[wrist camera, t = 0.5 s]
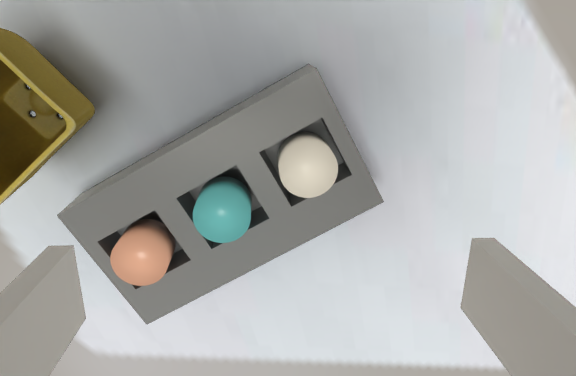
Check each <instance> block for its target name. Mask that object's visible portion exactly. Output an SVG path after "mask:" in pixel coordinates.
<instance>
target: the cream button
mask: <svg viewBox="0 0 576 376" xmlns="http://www.w3.org/2000/svg"><path fill="white" fill-rule="evenodd" d="M277 161H278V169H279V175H280V179H281V182H282V184H283V185H284V187H285V188H286V189H287V190H288V191H289V192H290V193H292V194H294V195H296V196H298V197H303V198H313V197H317V196H320V195H322V194H323V193H325V192H326V191H328V190H329V189H330V188H331V187H332V185H333V184H334V182H335V180H336V178H337V174H338V163H337V159H336V157H335V155H334V154H333V152H332V150H331V149H330V147H329V146H328V144H327V143H326V141H325V140H324V139H323V138H322V137H320V136H319V135H317V134H314V133H311V132H300V133H296V134H293V135H291V136H290V137H288V138H287V139H286V140H285V141H284V142H283V143H282V145H281V147H280V149H279V151H278V157H277Z"/></svg>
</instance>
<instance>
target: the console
mask: <svg viewBox="0 0 576 376" xmlns="http://www.w3.org/2000/svg"><path fill="white" fill-rule="evenodd" d="M300 132H311V133H314V134H317V135H319V136H320V137H322V138H323V139H324V140H325V141H326V143H327V144H328V146H329V147H330V149H331V150H332V152H333V154H334V155H335V157H336V159H337V163H338V174H337V178H336V180H335V182H334V184H333V185H332V187H331V188H330V189H329V190H328V191H326V192H325V193H323V194H322V195H320V196H317V197H313V198H303V197H298V196H296V195H294V194H292V193H290V192H289V191H288V190H287V189H286V188H285V187H284V185H283V184H282V182H281V179H280V175H279V169H278V161H277V157H278V151H279V149H280V147H281V145H282V143H283V142H284V141H285V140H286V139H287V138H288V137H290V136H291V135H293V134H296V133H300ZM224 176H225V177H232V178H235V179H237V180H239V181H240V182H242V183H243V184H244V185H245V186H246V187H247V189H248V190H249V192H250V195H251V200H252V204H251V221H250V225H249V227H248V229H247V231H246V232H245V233H244V235H243V236H241V237H240V238H238V239H237V240H235V241H232V242H228V243H217V242H213V241H210V240H208V239H206V238H205V237H203V236H202V235H201V234H200V233H199V232H198V231H197V229H196V227H195V225H194V222H193V209H194V206H195V204H196V201H197V198H198V196H199V193H200V191H201V189H202V187H203V186H204V185H205V184H206V183H207V182H208V181H210V180H212V179H214V178H217V177H224ZM383 202H384V201H383V199H382V197H381V195H380V193H379V191H378V189H377V187H376V185H375V183H374V182H373V180H372V178H371V176H370V174H369V172H368V170H367V168H366V166H365V164H364V162H363V160H362V158H361V156H360V154H359V152H358V150H357V148H356V146H355V144H354V142H353V140H352V138H351V136H350V134H349V132H348V130H347V128H346V126H345V124H344V122H343V120H342V118H341V116H340V114H339V112H338V110H337V108H336V106H335V104H334V102H333V100H332V98H331V96H330V94H329V92H328V90H327V88H326V86H325V84H324V82H323V80H322V78H321V76H320V74H319V72H318V70H317V68H315V67H313V66H312V65H310V64H308V65H306V66H304V67H303V68H301V69H299V70H297V71H296V72H294V73H292V74H290V75H289V76H287V77H285V78H283V79H282V80H280V81H278V82H276V83H275V84H273V85H271V86H269V87H268V88H266V89H264V90H262V91H261V92H259V93H257V94H255V95H253V96H252V97H250V98H248V99H246V100H245V101H243V102H241V103H239V104H238V105H236V106H234V107H232V108H231V109H229V110H227V111H225V112H224V113H222V114H220V115H218V116H217V117H215V118H213V119H211V120H210V121H208V122H206V123H204V124H203V125H201V126H199V127H197V128H196V129H194V130H192V131H190V132H189V133H187V134H185V135H183V136H181V137H180V138H178V139H176V140H174V141H173V142H171V143H169V144H167V145H166V146H164V147H162V148H160V149H159V150H157V151H155V152H153V153H152V154H150V155H148V156H146V157H145V158H143V159H141V160H139V161H138V162H136V163H134V164H132V165H131V166H129V167H127V168H125V169H124V170H122V171H120V172H118V173H117V174H115V175H113V176H111V177H110V178H108V179H106V180H104V181H102V182H101V183H99V184H97V185H95V186H94V187H92V188H90V189H88V190H87V191H85V192H83V193H82V194H80V195H79V196H78V197H77V198H76V199H75V200H74V201H73V202H71V203H70V204H69V205H68V206H67V207H66V208H65V209H64V210H63V211H61V212H60V213H59V214H58V215H57V216H58V217H59V219H60V220H61V221H62V222H63V223H64V225H65V226H66V227H67V228H68V230H69V231H70V232H71V233H72V234H73V236H74V237H75V238H76V239H77V240H78V242H79V243H80V244H81V245H82V247H83V248H84V249H85V250H86V251H87V253H88V254H89V255H90V256H91V257H92V259H93V260H94V261H95V262H96V264H97V265H98V266H99V267H100V268H101V270H102V271H103V272H104V273H105V274H106V276H107V277H108V278H109V279H110V281H111V282H112V283H113V284H114V285H115V287H116V288H117V289H118V290H119V292H120V293H121V294H122V295H123V296H124V298H125V299H126V300H127V301H128V302H129V304H130V305H131V306H132V307H133V309H134V310H135V311H136V312H137V313H138V315H139V316H140V317H141V318H142V319H143V321H144V322H145V323H146V324H149V323H151V322H153V321H155V320H157V319H159V318H161V317H163V316H164V315H166V314H168V313H170V312H172V311H174V310H176V309H178V308H180V307H182V306H184V305H186V304H188V303H190V302H191V301H193V300H195V299H197V298H199V297H201V296H203V295H205V294H207V293H209V292H211V291H213V290H215V289H217V288H218V287H220V286H222V285H224V284H226V283H228V282H230V281H232V280H234V279H236V278H238V277H240V276H242V275H244V274H245V273H247V272H249V271H251V270H253V269H255V268H257V267H259V266H261V265H263V264H265V263H267V262H269V261H271V260H273V259H274V258H276V257H278V256H280V255H282V254H284V253H286V252H288V251H290V250H292V249H294V248H296V247H298V246H300V245H301V244H303V243H305V242H307V241H309V240H311V239H313V238H315V237H317V236H319V235H321V234H323V233H325V232H327V231H328V230H330V229H332V228H334V227H336V226H338V225H340V224H342V223H344V222H346V221H348V220H350V219H352V218H354V217H355V216H357V215H359V214H361V213H363V212H365V211H367V210H369V209H371V208H373V207H375V206H377V205H379V204H381V203H383ZM142 219H152V220H156V221H159V222H161V223H163V224H165V225H166V226H167V228H168V229H169V231H170V232H171V233H172V235H173V236H174V238H175V242H176V246H175V250H174V253H173V256H172V258H171V261H170V263H169V266H168V268H167V271H166V273H165V275H164V276H163V277H162V278H161V279H160V280H159V281H157V282H156V283H153V284H151V285H146V286H137V285H132V284H129V283H127V282H125V281H123V280H122V279H120V278H119V277H118V276H117V275H116V274H115V272H114V271H113V269H112V266H111V262H110V256H111V252H112V250H113V248H114V246H115V245H116V243H117V242H118V240H119V239H120V238H121V236H122V235H123V233H124V232H125V230H126V229H127V228H128V226H130V225H131V224H132V223H134V222H136V221H138V220H142Z"/></svg>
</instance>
